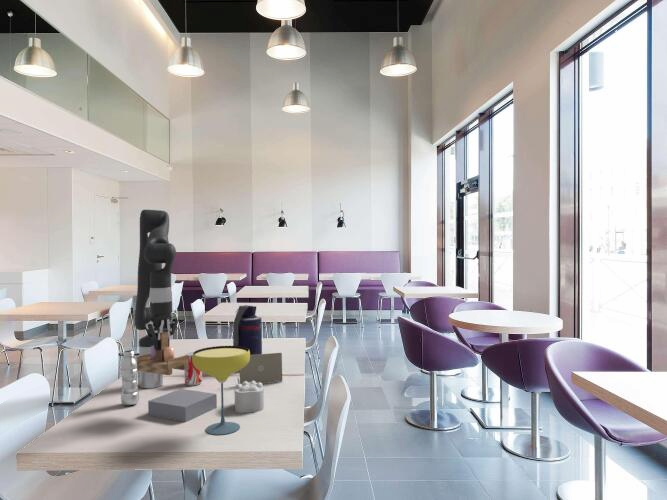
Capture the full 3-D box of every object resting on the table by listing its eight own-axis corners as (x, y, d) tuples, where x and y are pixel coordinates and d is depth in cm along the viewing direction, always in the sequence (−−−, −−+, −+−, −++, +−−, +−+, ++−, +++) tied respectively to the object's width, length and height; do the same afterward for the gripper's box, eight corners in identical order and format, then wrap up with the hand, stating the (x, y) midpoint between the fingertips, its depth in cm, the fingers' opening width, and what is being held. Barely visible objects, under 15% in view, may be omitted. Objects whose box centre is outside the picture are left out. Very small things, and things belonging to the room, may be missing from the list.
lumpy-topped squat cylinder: (234, 413, 176) (233, 388, 176) (235, 402, 189) (234, 379, 189) (264, 411, 178) (263, 387, 178) (263, 400, 191) (262, 377, 191)
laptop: (278, 375, 227) (277, 347, 227) (282, 383, 215) (281, 352, 215) (237, 379, 222) (237, 349, 222) (239, 386, 210) (239, 355, 210)
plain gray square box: (148, 415, 176) (148, 400, 176) (181, 401, 190) (180, 388, 190) (185, 421, 168) (185, 407, 168) (216, 407, 183) (216, 393, 182)
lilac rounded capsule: (148, 359, 177) (148, 346, 177) (155, 357, 180) (155, 345, 180) (155, 360, 175) (155, 347, 175) (162, 358, 178) (162, 345, 178)
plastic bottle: (121, 408, 183) (120, 354, 183) (120, 403, 189) (118, 350, 189) (140, 405, 186) (139, 351, 186) (138, 400, 192) (137, 348, 192)
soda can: (181, 385, 212) (180, 354, 212) (192, 381, 219) (191, 351, 219) (195, 387, 210) (194, 356, 210) (205, 382, 216) (205, 352, 216)
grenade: (253, 363, 249) (252, 303, 248) (267, 368, 240) (266, 305, 239) (228, 369, 239) (227, 306, 239) (242, 373, 231) (241, 308, 230)
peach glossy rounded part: (161, 361, 174) (161, 348, 174) (169, 359, 177) (169, 346, 177) (168, 362, 172) (168, 349, 172) (176, 360, 175) (176, 347, 175)
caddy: (136, 370, 176) (136, 332, 175) (156, 364, 184) (156, 328, 183) (168, 375, 169) (167, 335, 168) (187, 369, 177) (186, 330, 176)
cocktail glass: (254, 435, 155) (253, 354, 155) (194, 443, 150) (192, 359, 150) (247, 416, 173) (246, 343, 172) (193, 422, 167) (191, 347, 167)
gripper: (168, 297, 184) (169, 344, 184) (137, 302, 171) (138, 352, 172) (183, 298, 180) (184, 346, 181) (153, 303, 168) (154, 354, 168)
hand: (162, 349), depth 176 cm, fingers closed on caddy, 3 cm apart
